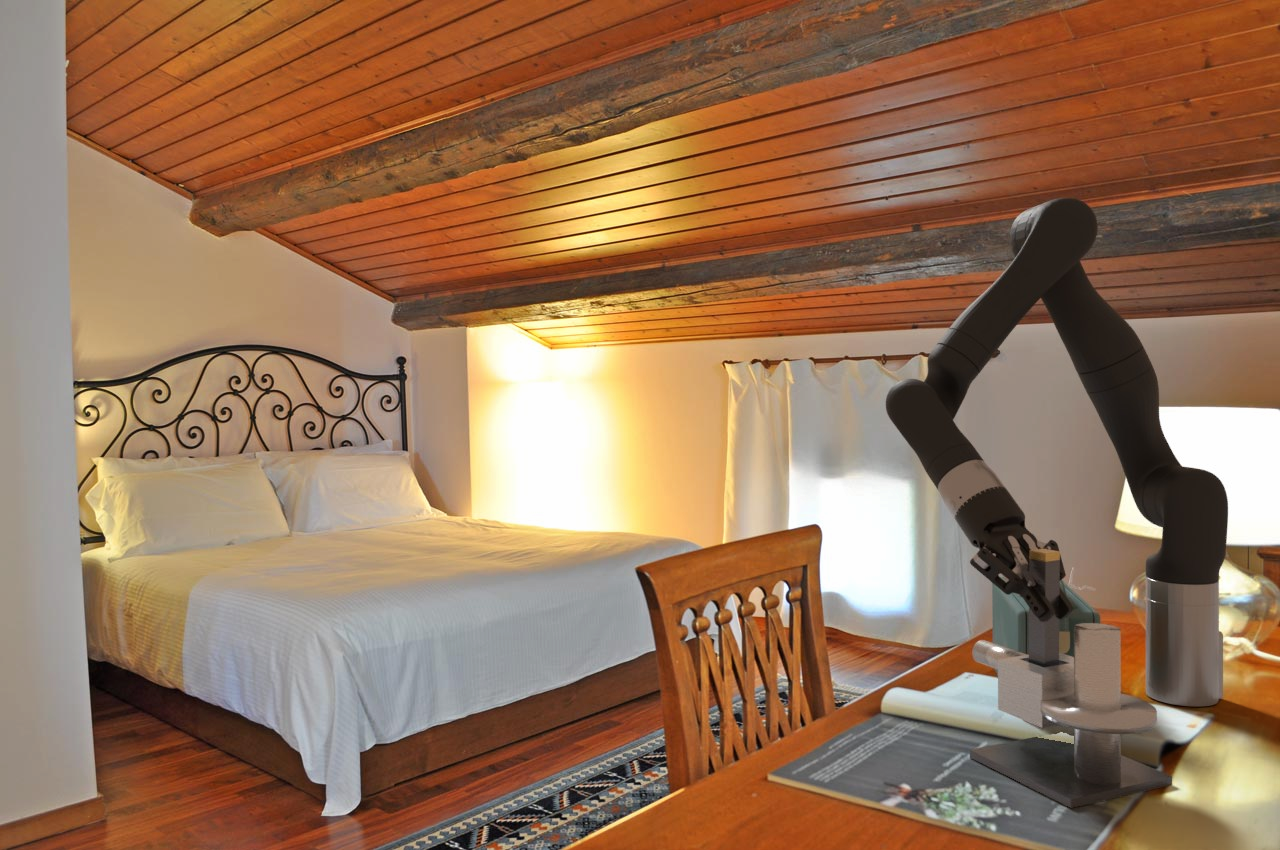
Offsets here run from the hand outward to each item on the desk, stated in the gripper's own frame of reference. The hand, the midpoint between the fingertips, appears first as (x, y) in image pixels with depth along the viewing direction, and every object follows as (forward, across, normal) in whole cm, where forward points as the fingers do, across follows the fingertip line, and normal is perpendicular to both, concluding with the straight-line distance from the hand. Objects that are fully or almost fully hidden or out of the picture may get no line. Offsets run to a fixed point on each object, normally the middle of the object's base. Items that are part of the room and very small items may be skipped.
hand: (1057, 615), depth 118 cm
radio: (-1, +21, +27) cm, 34 cm away
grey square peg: (+3, 0, +6) cm, 7 cm away
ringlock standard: (+13, 0, +13) cm, 18 cm away
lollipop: (-18, +54, +44) cm, 72 cm away
